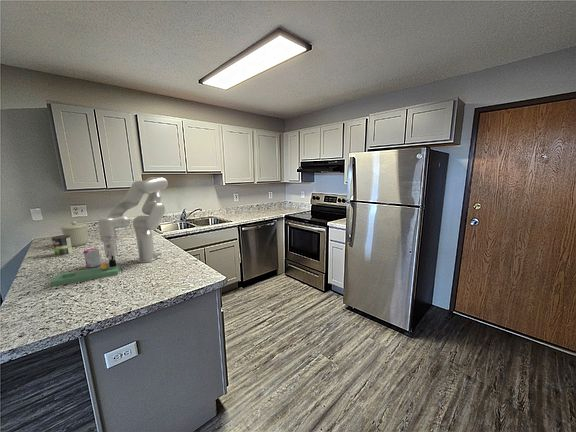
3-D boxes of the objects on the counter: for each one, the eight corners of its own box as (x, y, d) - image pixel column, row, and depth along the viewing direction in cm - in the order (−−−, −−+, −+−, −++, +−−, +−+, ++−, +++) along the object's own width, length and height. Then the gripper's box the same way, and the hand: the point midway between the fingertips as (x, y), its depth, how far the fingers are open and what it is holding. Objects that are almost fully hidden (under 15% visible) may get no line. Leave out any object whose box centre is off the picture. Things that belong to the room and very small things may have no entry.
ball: (109, 267, 147) (108, 261, 146) (108, 270, 143) (107, 263, 143) (101, 269, 145) (100, 263, 144) (99, 271, 142) (98, 265, 141)
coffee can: (61, 257, 176) (57, 238, 173) (51, 256, 178) (47, 238, 175) (76, 252, 185) (73, 235, 183) (66, 251, 188) (63, 234, 185)
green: (120, 267, 153) (119, 264, 153) (117, 274, 143) (117, 270, 142) (58, 278, 139) (58, 274, 139) (51, 286, 129) (50, 282, 128)
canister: (79, 247, 198) (74, 223, 194) (58, 248, 198) (53, 223, 194) (96, 241, 216) (92, 219, 212) (77, 241, 216) (73, 219, 212)
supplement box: (101, 264, 159) (99, 248, 157) (92, 268, 153) (89, 251, 151) (95, 264, 160) (92, 248, 158) (86, 267, 155) (82, 250, 153)
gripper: (114, 239, 138) (118, 269, 141) (118, 234, 151) (121, 261, 154) (98, 241, 135) (103, 272, 138) (103, 236, 147) (107, 263, 151)
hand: (113, 266), depth 146 cm, fingers closed
